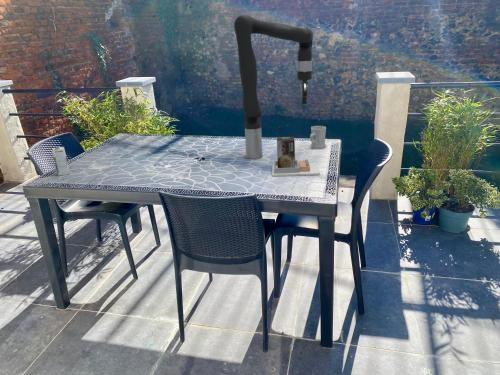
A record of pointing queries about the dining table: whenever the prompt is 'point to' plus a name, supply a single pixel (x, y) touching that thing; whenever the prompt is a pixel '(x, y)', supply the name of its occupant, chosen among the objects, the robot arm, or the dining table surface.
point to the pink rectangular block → (304, 165)
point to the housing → (294, 170)
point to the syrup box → (60, 161)
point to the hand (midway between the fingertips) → (304, 103)
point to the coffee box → (286, 152)
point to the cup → (318, 137)
